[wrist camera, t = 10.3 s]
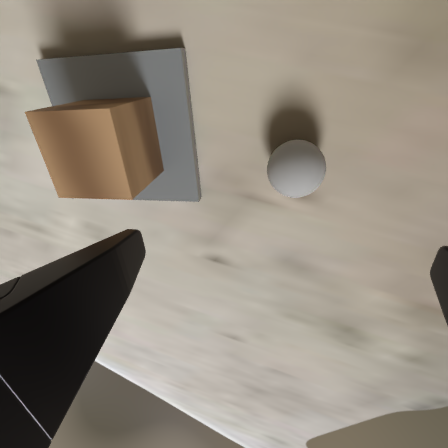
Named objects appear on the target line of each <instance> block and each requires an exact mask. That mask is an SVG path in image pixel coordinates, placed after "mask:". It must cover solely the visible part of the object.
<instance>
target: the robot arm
mask: <svg viewBox="0 0 448 448" xmlns="http://www.w3.org/2000/svg"><path fill="white" fill-rule="evenodd" d="M145 253H146V252H145V246H144V242H143V238H142V234H141V232H140V231H139V230H134V229H127V230H125V231H122V232H120V233H118V234H115V235H113V236H111V237H108V238H106V239H104V240H102V241H99V242H97V243H95V244H92V245H90V246H88V247H86V248H83V249H81V250H79V251H76V252H74V253H72V254H70V255H67V256H65V257H63V258H60V259H58V260H56V261H54V262H51V263H49V264H47V265H44V266H42V267H40V268H37V269H35V270H33V271H31V272H28V273H26V274H24V275H22V276H21V277H17V278H14V279H12V280H10V281H8V282H5V283H3V284H1V285H0V448H49V446H50V444H51V440H52V439H53V438H54V436H55V434H56V432H57V430H58V428H59V426H60V424H61V423H62V421H63V419H64V417H65V415H66V413H67V411H68V409H69V407H70V406H71V404H72V402H73V400H74V398H75V396H76V394H77V393H78V391H79V389H80V387H81V385H82V383H83V381H84V379H85V378H86V376H87V374H88V372H89V370H90V368H91V366H92V364H93V362H94V361H95V359H96V357H97V355H98V353H99V351H100V349H101V347H102V346H103V344H104V342H105V340H106V338H107V336H108V334H109V332H110V331H111V329H112V327H113V325H114V323H115V321H116V319H117V317H118V315H119V314H120V312H121V310H122V308H123V306H124V304H125V302H126V300H127V298H128V296H129V294H130V292H131V290H132V288H133V285H134V283H135V280H136V278H137V275H138V273H139V270H140V268H141V265H142V263H143V260H144V258H145ZM430 277H431V280H432V283H433V286H434V289H435V291H436V294H437V297H438V300H439V303H440V306H441V309H442V312H443V315H444V317H445V320H446V323H447V325H448V246H442V247H440V249H439V250H438V252H437V255H436V257H435V260H434V262H433V264H432V267H431V270H430Z"/></svg>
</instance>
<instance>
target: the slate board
mask: <svg viewBox="0 0 448 448" xmlns="http://www.w3.org/2000/svg"><path fill="white" fill-rule="evenodd" d="M36 61H37V63H38V66H39V69H40V72H41V75H42V78H43V81H44V84H45V87H46V89H47V92H48V95H49V98H50V101H51V104H52V106H57V105H62V104H67V103H72V102H76V101H81V100H96V99H117V98H137V97H151V100H152V106H153V111H154V117H155V123H156V128H157V134H158V140H159V145H160V151H161V156H162V162H163V168H164V171H163V172H162V173H161V174H160V175H159V176H158V177H157V178H155V179H154V180H153V181H152V182H151V183H150V184H149V185H148V186H147V187H146V188H145V189H144V190H142V191H141V192H140V193H139V194H138V195H137V196H136V197H135V198H134V199H133V200H159V201H192V202H199V201H200V199H201V188H200V179H199V170H198V161H197V151H196V142H195V133H194V124H193V115H192V106H191V97H190V88H189V79H188V70H187V61H186V52H185V48H173V49H161V50H149V51H136V52H124V53H112V54H100V55H88V56H76V57H64V58H52V59H40V60H36Z"/></svg>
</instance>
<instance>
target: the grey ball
mask: <svg viewBox="0 0 448 448" xmlns="http://www.w3.org/2000/svg"><path fill="white" fill-rule="evenodd" d="M325 172H326V162H325V158H324V156H323V154H322V152H321V151H320V149H319V148H318V147H317V146H316V145H314V144H313V143H311V142H308V141H305V140H291V141H287V142H285V143H283V144H281V145H280V146H279V147H278V148H276V149H275V151H274V152H273V153H272V155H271V157H270V159H269V161H268V165H267V174H268V178H269V181H270V183H271V185H272V186H273V188H274V189H275V190H276V191H278V192H279V193H280V194H282V195H284V196H287V197H293V198H297V197H303V196H306V195H308V194H310V193H312V192H313V191H315V190H316V189H317V188H318V187H319V186H320V184H321V183H322V181H323V179H324V176H325Z"/></svg>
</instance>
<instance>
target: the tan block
mask: <svg viewBox="0 0 448 448" xmlns="http://www.w3.org/2000/svg"><path fill="white" fill-rule="evenodd" d="M25 114H26V116H27V119H28V121H29V124H30V126H31V129H32V131H33V134H34V136H35V139H36V141H37V144H38V146H39V149H40V151H41V154H42V156H43V159H44V161H45V164H46V166H47V169H48V171H49V174H50V176H51V179H52V181H53V184H54V186H55V189H56V191H57V194H58V196H59V198H91V199H125V200H133V199H134V198H135V197H136V196H137V195H138V194H139V193H140V192H141V191H142V190H144V189H145V188H146V187H147V186H148V185H149V184H150V183H151V182H152V181H153V180H154V179H155V178H157V177H158V176H159V175H160V174H161V173H162V172H163V171H164V168H163V162H162V156H161V151H160V145H159V140H158V134H157V128H156V123H155V117H154V111H153V106H152V100H151V97H137V98H117V99H96V100H81V101H76V102H72V103H67V104H62V105H57V106H52V107H47V108H42V109H37V110H32V111H27V112H25Z"/></svg>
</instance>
